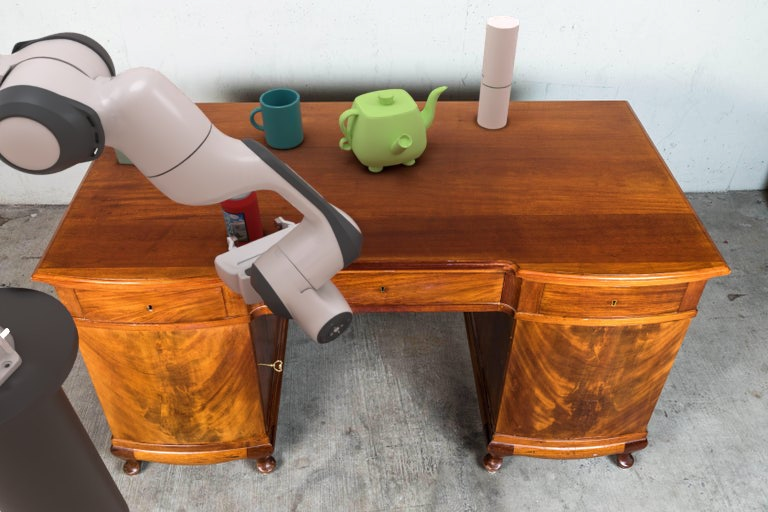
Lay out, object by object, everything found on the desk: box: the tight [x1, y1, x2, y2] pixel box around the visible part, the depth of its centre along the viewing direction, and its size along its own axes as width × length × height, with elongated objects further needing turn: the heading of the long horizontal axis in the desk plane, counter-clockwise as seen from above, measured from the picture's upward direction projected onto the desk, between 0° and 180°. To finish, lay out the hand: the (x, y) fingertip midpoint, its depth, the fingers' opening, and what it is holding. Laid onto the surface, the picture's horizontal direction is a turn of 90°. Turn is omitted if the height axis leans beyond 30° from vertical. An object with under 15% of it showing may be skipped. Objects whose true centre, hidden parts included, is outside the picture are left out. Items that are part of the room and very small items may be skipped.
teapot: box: [338, 85, 448, 173], centre depth 144 cm, size 25×22×16 cm
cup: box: [249, 87, 305, 150], centre depth 152 cm, size 9×12×11 cm
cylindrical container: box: [476, 14, 520, 130], centre depth 153 cm, size 7×7×25 cm
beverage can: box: [220, 191, 264, 247], centre depth 125 cm, size 7×7×12 cm
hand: (254, 229), depth 121 cm, fingers open, 8 cm apart
